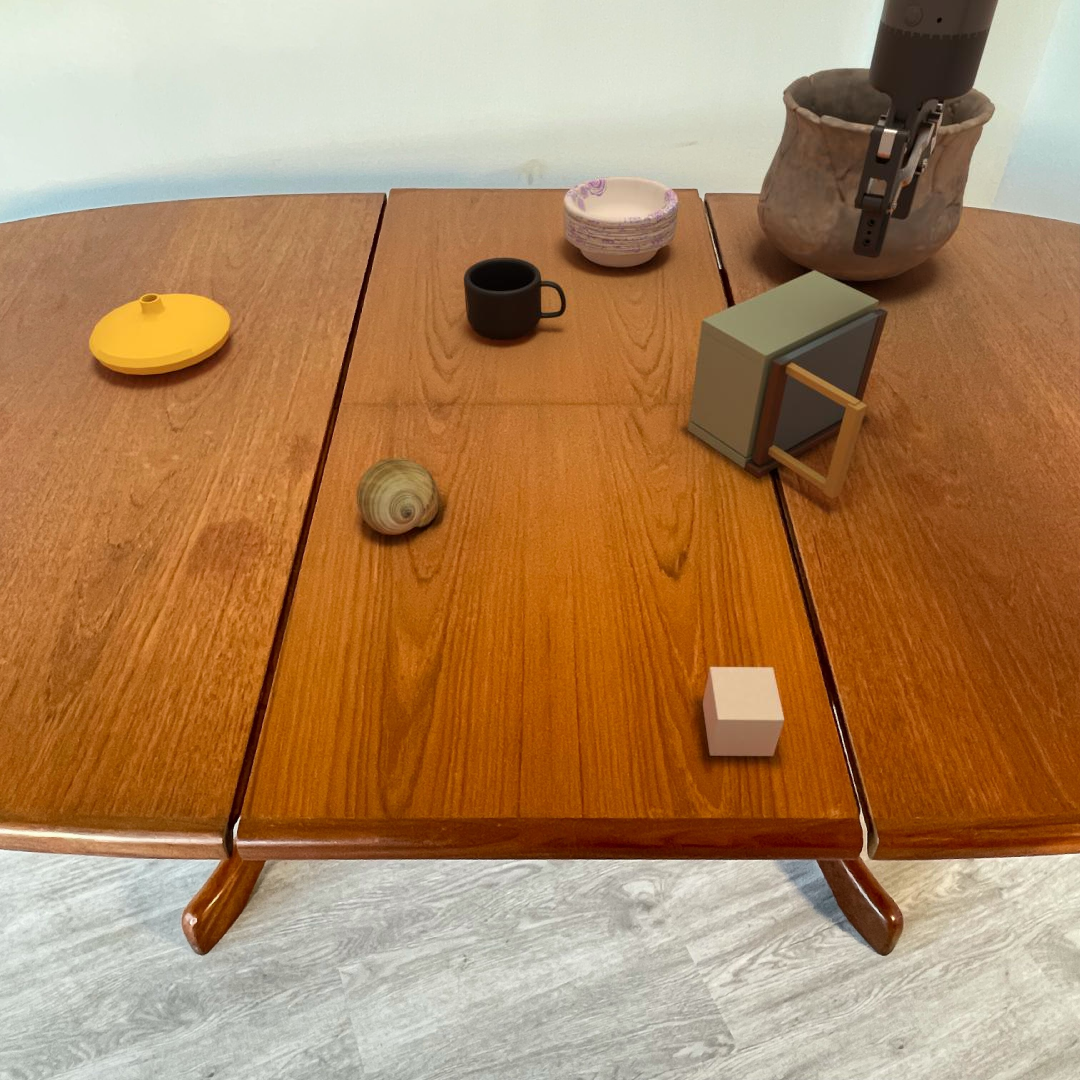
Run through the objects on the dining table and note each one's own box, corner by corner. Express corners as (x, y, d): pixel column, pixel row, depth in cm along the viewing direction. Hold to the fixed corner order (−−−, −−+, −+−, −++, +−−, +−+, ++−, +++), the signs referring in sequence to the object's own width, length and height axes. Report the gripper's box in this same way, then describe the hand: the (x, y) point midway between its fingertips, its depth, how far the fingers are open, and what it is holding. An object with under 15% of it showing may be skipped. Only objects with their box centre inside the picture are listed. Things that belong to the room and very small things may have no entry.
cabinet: (862, 419, 93) (895, 308, 84) (758, 478, 86) (781, 364, 77) (790, 377, 99) (814, 269, 90) (687, 430, 92) (702, 319, 83)
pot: (920, 230, 125) (969, 66, 110) (960, 313, 108) (1025, 133, 94) (742, 224, 127) (767, 62, 112) (755, 305, 110) (786, 127, 96)
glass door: (925, 447, 88) (962, 347, 80) (825, 510, 81) (854, 407, 73) (851, 405, 93) (879, 307, 85) (752, 461, 86) (772, 360, 78)
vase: (217, 389, 98) (200, 334, 93) (77, 391, 98) (52, 336, 93) (250, 317, 110) (236, 264, 105) (124, 319, 110) (104, 266, 105)
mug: (461, 346, 104) (456, 291, 99) (474, 308, 111) (470, 254, 106) (561, 351, 103) (562, 296, 98) (569, 313, 110) (570, 259, 105)
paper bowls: (580, 223, 128) (581, 168, 123) (683, 236, 125) (689, 180, 119) (548, 270, 118) (548, 212, 112) (660, 286, 114) (665, 227, 109)
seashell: (386, 521, 88) (323, 487, 83) (426, 464, 88) (366, 425, 82) (428, 565, 81) (363, 531, 76) (472, 503, 81) (409, 464, 75)
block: (762, 704, 67) (773, 666, 64) (773, 756, 64) (784, 720, 60) (702, 703, 67) (709, 666, 64) (709, 756, 64) (717, 719, 61)
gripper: (969, 47, 57) (903, 279, 68) (1011, 0, 66) (947, 213, 77) (854, 33, 60) (809, 259, 71) (909, -10, 69) (861, 196, 80)
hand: (881, 234), depth 74 cm, fingers open, 8 cm apart
